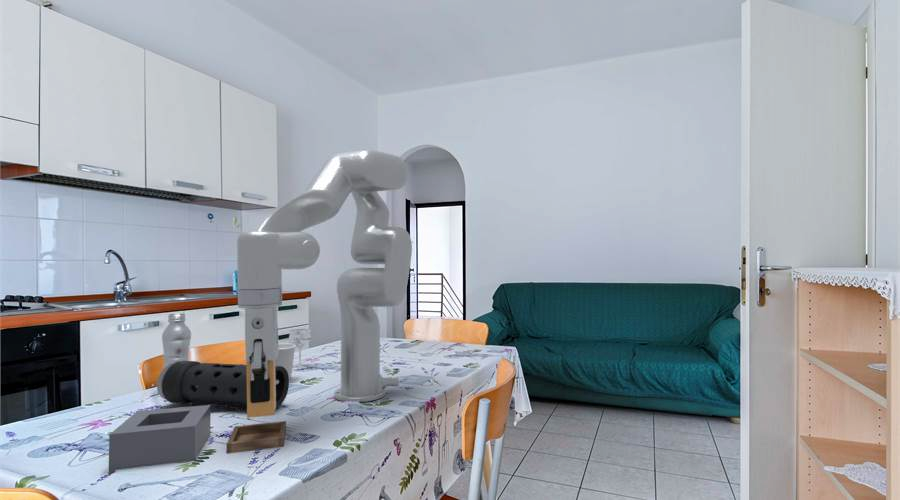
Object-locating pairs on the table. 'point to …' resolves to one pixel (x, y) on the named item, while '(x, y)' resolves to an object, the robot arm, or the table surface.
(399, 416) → the table surface
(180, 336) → the plastic bottle
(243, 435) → the tray
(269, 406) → the plug
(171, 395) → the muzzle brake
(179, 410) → the socket block
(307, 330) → the wineglass
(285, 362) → the dixie cup
